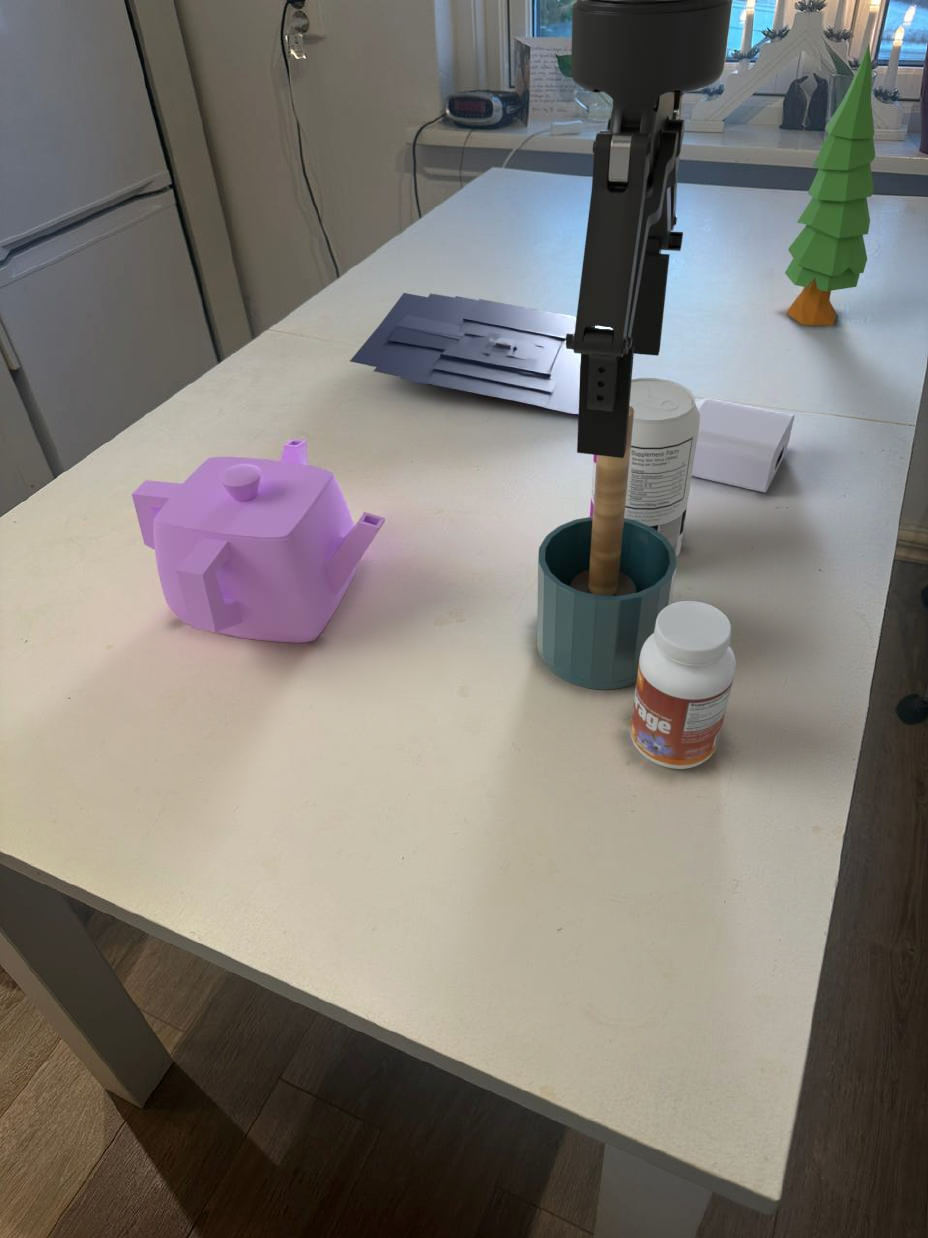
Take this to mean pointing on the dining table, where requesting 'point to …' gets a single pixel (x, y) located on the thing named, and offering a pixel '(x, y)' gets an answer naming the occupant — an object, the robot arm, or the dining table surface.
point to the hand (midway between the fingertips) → (621, 398)
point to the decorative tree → (836, 207)
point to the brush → (608, 526)
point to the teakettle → (254, 545)
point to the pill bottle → (683, 685)
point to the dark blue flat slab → (479, 349)
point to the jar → (600, 605)
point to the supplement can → (660, 456)
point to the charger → (740, 443)
